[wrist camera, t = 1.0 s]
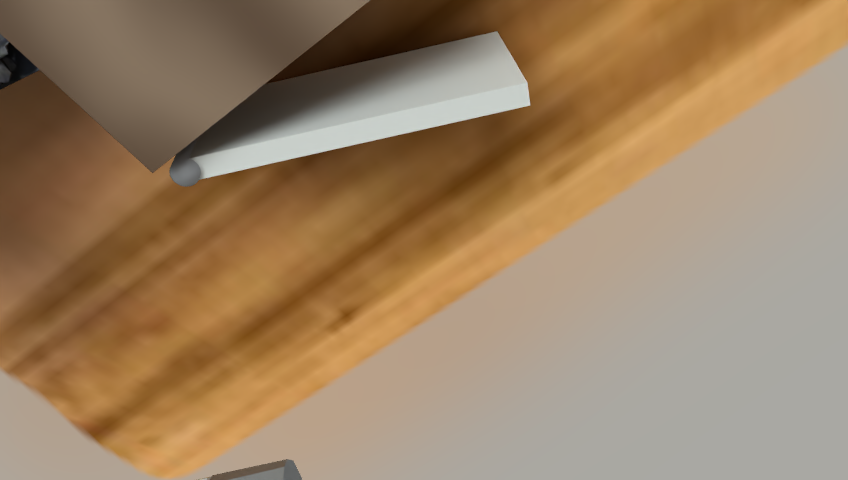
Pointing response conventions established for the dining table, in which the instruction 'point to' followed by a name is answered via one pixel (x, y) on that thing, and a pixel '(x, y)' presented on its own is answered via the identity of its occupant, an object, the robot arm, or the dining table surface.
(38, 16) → the case
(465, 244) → the dining table surface
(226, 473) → the robot arm
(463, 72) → the door
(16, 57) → the vintage camera
